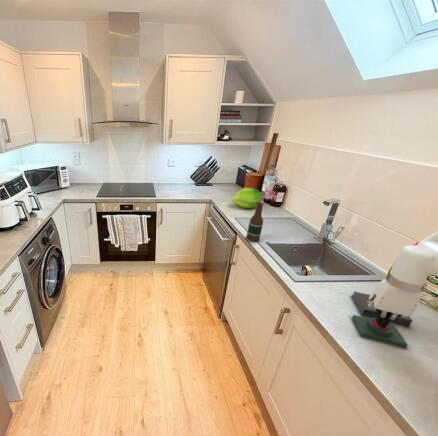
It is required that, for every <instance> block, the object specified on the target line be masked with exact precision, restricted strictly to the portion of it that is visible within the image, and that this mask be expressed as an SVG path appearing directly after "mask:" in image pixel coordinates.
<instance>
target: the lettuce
mask: <svg viewBox="0 0 438 436" xmlns="http://www.w3.org/2000/svg"><path fill="white" fill-rule="evenodd" d="M230 200H231V202H232V203H234V204H236V205H237V206H238V207H240V208H243V209H254V208H256V207H257V203H262V200H263V194H262V192H261V191H260V190H258V189H257V188H253V187H244V188H241V189H240V190H239V191H237V192H236V193H235V194H234V195H233V196H232V197H231V199H230Z"/></svg>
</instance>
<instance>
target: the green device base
mask: <svg viewBox="0 0 438 436" xmlns="http://www.w3.org/2000/svg"><path fill="white" fill-rule="evenodd" d="M375 319H376V318H371V317H366V316H362V315H357V314H353V315H352V317H351V320H352V322H353V323H354V325H355V327H356V329H357V331H358V333H359V335H360V337H361V338H365V339H369V340H373V341H377V342H381V343H384V344H388V345H392V346H396V347H399V348H402V349H406V348H407V347H408V346H409V345H408V343H407V341H406V340H405V338H404V337H403V335H402V333H400V331H399V330H398V328H397V327H396V325H395V323H391V322H390V323H389V325H387V326H388V329H387V330H383V329H380V328H378V327H377V326H375V325H374V321H375Z"/></svg>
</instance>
